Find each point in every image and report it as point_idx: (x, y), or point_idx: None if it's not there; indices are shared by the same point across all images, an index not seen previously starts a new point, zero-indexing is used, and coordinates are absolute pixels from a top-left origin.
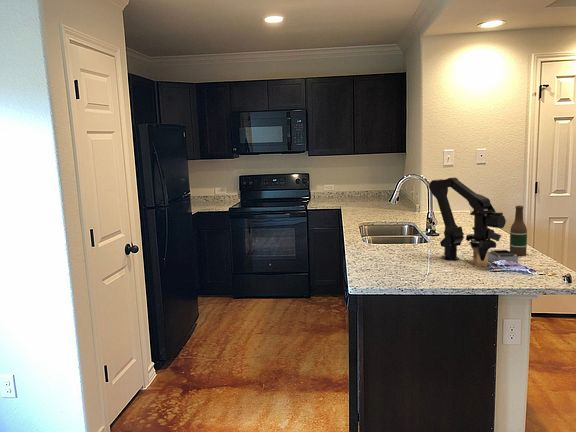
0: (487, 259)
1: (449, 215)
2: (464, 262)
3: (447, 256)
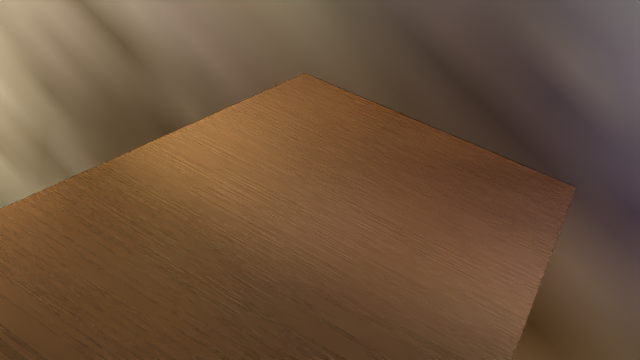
0: (532, 298)
1: None
2: None
3: None
